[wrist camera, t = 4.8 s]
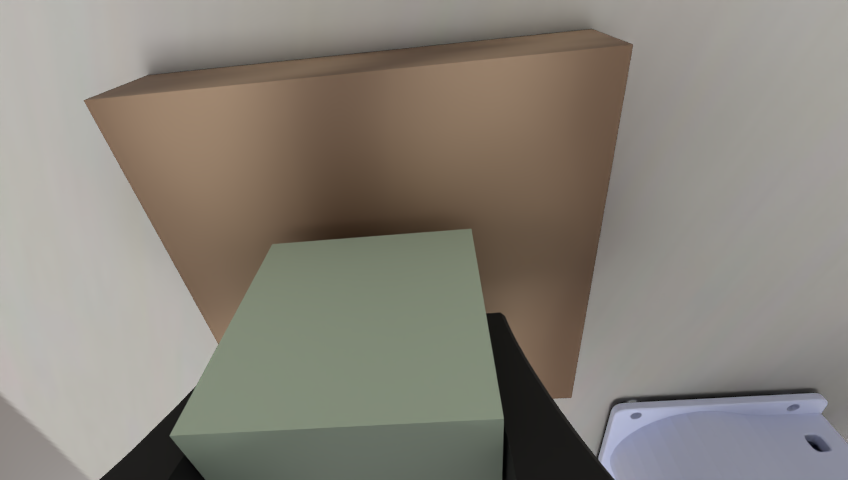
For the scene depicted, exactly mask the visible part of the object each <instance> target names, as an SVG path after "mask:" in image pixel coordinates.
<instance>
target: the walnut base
mask: <svg viewBox="0 0 848 480" xmlns="http://www.w3.org/2000/svg"><path fill="white" fill-rule="evenodd" d="M632 48H633V44H630V43H628V42H625V41H622V40H620V39H617V38H614V37H612V36H609V35H607V34H604V33H601V32H599V31H596V30H593V29H588V30H578V31H569V32H559V33H549V34H540V35H530V36H521V37H511V38H501V39H492V40H482V41H473V42H463V43H453V44H444V45H434V46H425V47H415V48H405V49H396V50H386V51H376V52H367V53H357V54H348V55H338V56H328V57H319V58H309V59H300V60H290V61H280V62H271V63H261V64H252V65H242V66H232V67H223V68H213V69H204V70H194V71H184V72H175V73H165V74H156V75H147V76H144V77H142V78H139V79H137V80H134V81H132V82H129V83H127V84H124V85H121V86H119V87H116V88H114V89H111V90H109V91H106V92H104V93H101V94H99V95H96V96H94V97H91V98H88V99H86V100H84V102H85V104H86V105H87V107H88V109H89V111H90V113H91V114H92V116H93V118H94V120H95V122H96V123H97V125H98V127H99V129H100V131H101V133H102V134H103V136H104V138H105V140H106V142H107V143H108V145H109V147H110V149H111V151H112V152H113V154H114V156H115V158H116V160H117V162H118V163H119V165H120V167H121V169H122V171H123V172H124V174H125V176H126V178H127V180H128V181H129V183H130V185H131V187H132V189H133V190H134V192H135V194H136V196H137V198H138V200H139V201H140V203H141V205H142V207H143V209H144V210H145V212H146V214H147V216H148V218H149V219H150V221H151V223H152V225H153V227H154V229H155V230H156V232H157V234H158V236H159V238H160V239H161V241H162V243H163V245H164V247H165V248H166V250H167V252H168V254H169V256H170V257H171V259H172V261H173V263H174V265H175V267H176V268H177V270H178V272H179V274H180V276H181V277H182V279H183V281H184V283H185V285H186V286H187V288H188V290H189V292H190V294H191V296H192V297H193V299H194V301H195V303H196V305H197V306H198V308H199V310H200V312H201V314H202V315H203V317H204V319H205V321H206V323H207V324H208V326H209V328H210V330H211V332H212V334H213V335H214V337H215V339H216V341H217V343H218V344H219V343H220V341H221V339H222V337H223V335H224V333H225V331H226V329H227V328H228V326H229V324H230V322H231V320H232V318H233V316H234V315H235V313H236V311H237V309H238V307H239V305H240V303H241V302H242V300H243V298H244V296H245V294H246V292H247V290H248V289H249V287H250V285H251V283H252V281H253V279H254V277H255V275H256V274H257V272H258V270H259V268H260V266H261V264H262V262H263V261H264V259H265V257H266V255H267V253H268V251H269V249H270V248H271V246H272V244H280V243H293V242H306V241H319V240H332V239H344V238H357V237H370V236H383V235H396V234H409V233H422V232H435V231H448V230H461V229H472V235H473V241H474V247H475V252H476V258H477V264H478V270H479V276H480V282H481V287H482V293H483V299H484V305H485V311H486V313H499V312H501V313H502V314H503V315H505V317H506V320H507V322H508V324H509V326H510V328H511V331H512V333H513V335H514V336H515V338H516V340H517V342H518V344H519V346H520V348H521V349H522V351H523V353H524V355H525V356H526V358H527V360H528V361H529V363H530V365H531V366H532V368H533V370H534V371H535V373H536V374H537V376H538V377H539V379H540V380H541V382H542V384H543V385H544V387H545V388H546V390H547V391H548V393H549V394H550V396H551V397H552V399H556V398H571V397H572V391H573V385H574V380H575V374H576V368H577V362H578V357H579V351H580V345H581V340H582V334H583V328H584V322H585V317H586V311H587V305H588V300H589V294H590V288H591V282H592V277H593V271H594V265H595V260H596V254H597V248H598V242H599V237H600V231H601V225H602V220H603V214H604V208H605V202H606V197H607V191H608V185H609V180H610V174H611V168H612V162H613V157H614V151H615V145H616V140H617V134H618V128H619V122H620V117H621V111H622V105H623V100H624V94H625V88H626V82H627V77H628V71H629V65H630V60H631V54H632Z"/></svg>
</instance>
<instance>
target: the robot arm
mask: <svg viewBox="0 0 848 480" xmlns="http://www.w3.org/2000/svg"><path fill="white" fill-rule="evenodd" d="M486 317H487V323H488V328H489V334H490V340H491V346H492V352H493V358H494V364H495V369H496V375H497V381H498V387H499V393H500V399H501V405H502V410H503V416H504V433H503V467H502V480H848V443H847V442H846V441H845V440H844V439H843V438H842V437H841V435H840V434H839V433H838V432H837V431H836V430H835V429H834V428H833V426H832V425H831V424H830V423H829V422H828V421H827V420H826V418H825V417H824V416H823V415H822V414H821V413H822V411H823V410H824V409H825V408H826V406H827V404H828V402H827V400H826V399H825V398H824V397H823V396H822V395H821V394H819V393H802V394H784V395H765V396H746V397H727V398H708V399H689V400H670V401H651V402H632V403H620V404H617V405H615V406H614V407H613V408H612V410H611V413H610V417H609V421H608V424H607V428H606V432H605V435H604V439H603V443H602V446H601V450H600V454H599V457H598V459H597V458H596V456H595V455H594V454H593V453H592V451H591V450H590V449H589V448H588V446H587V445H586V444H585V442H584V441H583V440H582V439H581V437H580V436H579V435H578V433H577V432H576V431H575V429H574V428H573V427H572V425H571V424H570V422H569V421H568V420H567V418H566V417H565V416H564V414H563V413H562V412H561V410H560V409H559V407H558V406H557V404H556V403H555V402H554V400H553V399H552V397H551V396H550V394H549V393H548V391H547V390H546V388H545V387H544V385H543V384H542V382H541V380H540V379H539V377H538V376H537V374H536V373H535V371H534V370H533V368H532V366H531V365H530V363H529V361H528V360H527V358H526V356H525V355H524V353H523V351H522V349H521V348H520V346H519V344H518V342H517V340H516V338H515V336H514V335H513V333H512V331H511V328H510V326H509V324H508V322H507V320H506V317H505V315H503V314H502V313H501V312H499V313H486ZM195 387H196V386H195ZM194 389H195V388H194ZM194 389H193V390H192V391H191V392H190V393H189V394H188V395H187V396H186V397H185V398H184V399H183V400H182V401H181V402H180V403H179V404H178V405H177V406H176V407H175V408H174V409H173V410H172V411H171V412H170V413H169V414H168V415H167V416H166V417H165V418H164V419H163V420H162V421H161V422H160V423H159V424H158V425H157V426H156V427H155V428H154V429H153V430H152V431H151V432H150V433H149V434H148V435H147V436H146V437H145V438H144V439H143V440H142V441H141V442H140V443H139V444H138V445H137V446H136V447H135V448H134V449H133V450H132V451H131V452H129V453H128V454H127V455H126V456H125V457H124V458H123V459H122V460H121V461H120V462H119V463H118V464H116V465H115V466H114V467H113V468H112V469H111V470H110V471H109V472H108V473H106V474H105V475H104V476H103V477H102V478H101V479H100V480H205V479H204V477H203V476H202V475H201V474H200V472H199V471H198V470H197V469H196V468H195V466H194V465H193V464H192V463H191V462H190V460H189V459H188V458H187V457H186V455H185V454H184V453H183V452H182V451H181V449H180V448H179V447H178V446H177V445H176V443H175V442H174V441H173V440H172V438H171V437H170V434H171V432H172V430H173V428H174V426H175V424H176V423H177V421H178V419H179V417H180V415H181V413H182V411H183V410H184V408H185V406H186V404H187V402H188V400H189V398H190V397H191V395H192V393H193V391H194Z"/></svg>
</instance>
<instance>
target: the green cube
mask: <svg viewBox="0 0 848 480" xmlns="http://www.w3.org/2000/svg"><path fill="white" fill-rule="evenodd" d="M503 433H504V416H503V410H502V405H501V399H500V393H499V387H498V381H497V375H496V369H495V364H494V358H493V352H492V346H491V340H490V334H489V328H488V323H487V317H486V311H485V305H484V299H483V293H482V287H481V282H480V276H479V270H478V264H477V258H476V252H475V247H474V241H473V235H472V229H461V230H448V231H435V232H422V233H409V234H396V235H383V236H370V237H357V238H344V239H332V240H319V241H306V242H293V243H280V244H272V246H271V248H270V249H269V251H268V253H267V255H266V257H265V259H264V261H263V262H262V264H261V266H260V268H259V270H258V272H257V274H256V275H255V277H254V279H253V281H252V283H251V285H250V287H249V289H248V290H247V292H246V294H245V296H244V298H243V300H242V302H241V303H240V305H239V307H238V309H237V311H236V313H235V315H234V316H233V318H232V320H231V322H230V324H229V326H228V328H227V329H226V331H225V333H224V335H223V337H222V339H221V341H220V343H219V344H218V346H217V348H216V350H215V352H214V354H213V356H212V357H211V359H210V361H209V363H208V365H207V367H206V369H205V370H204V372H203V374H202V376H201V378H200V380H199V382H198V383H197V385H196V387H195V389H194V391H193V393H192V395H191V397H190V398H189V400H188V402H187V404H186V406H185V408H184V410H183V411H182V413H181V415H180V417H179V419H178V421H177V423H176V424H175V426H174V428H173V430H172V432H171V434H170V437H171V438H172V440H173V441H174V442H175V443H176V445H177V446H178V447H179V448H180V449H181V451H182V452H183V453H184V454H185V455H186V457H187V458H188V459H189V460H190V462H191V463H192V464H193V465H194V466H195V468H196V469H197V470H198V471H199V472H200V474H201V475H202V476H203V477H204V479H205V480H502V467H503Z"/></svg>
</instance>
